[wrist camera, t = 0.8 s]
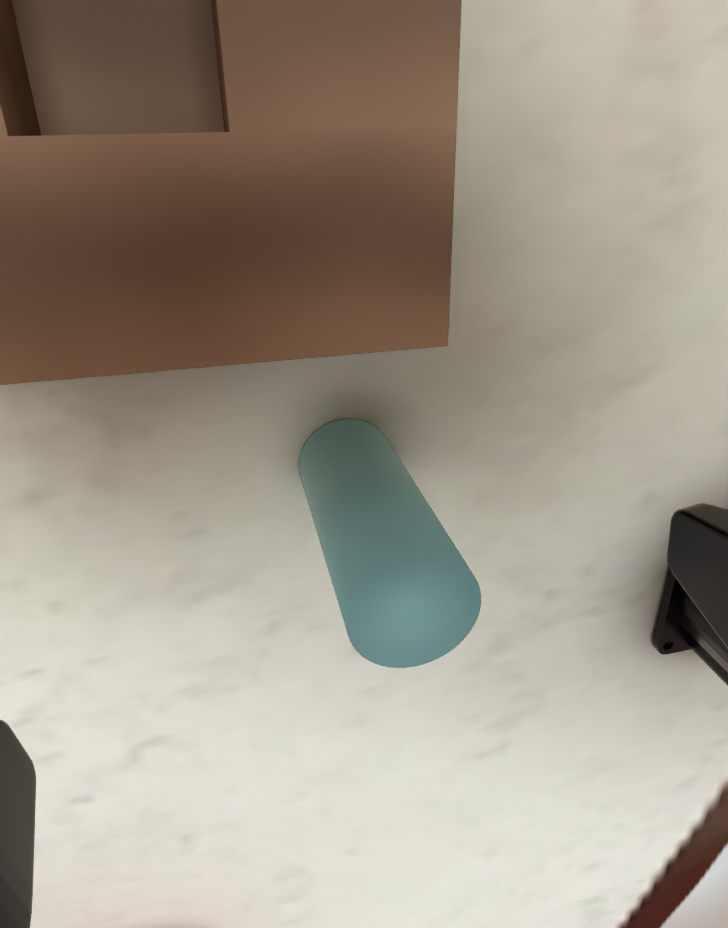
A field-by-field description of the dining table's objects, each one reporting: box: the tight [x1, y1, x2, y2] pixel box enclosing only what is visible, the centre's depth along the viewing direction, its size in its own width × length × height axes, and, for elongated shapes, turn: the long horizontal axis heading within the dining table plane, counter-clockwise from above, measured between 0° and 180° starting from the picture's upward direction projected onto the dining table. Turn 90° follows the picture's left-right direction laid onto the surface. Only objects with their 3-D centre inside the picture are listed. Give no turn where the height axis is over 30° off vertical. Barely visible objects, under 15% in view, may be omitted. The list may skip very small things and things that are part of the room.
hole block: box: [0, 0, 461, 385], centre depth 13 cm, size 14×14×4 cm
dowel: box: [299, 419, 481, 668], centre depth 18 cm, size 3×3×8 cm
